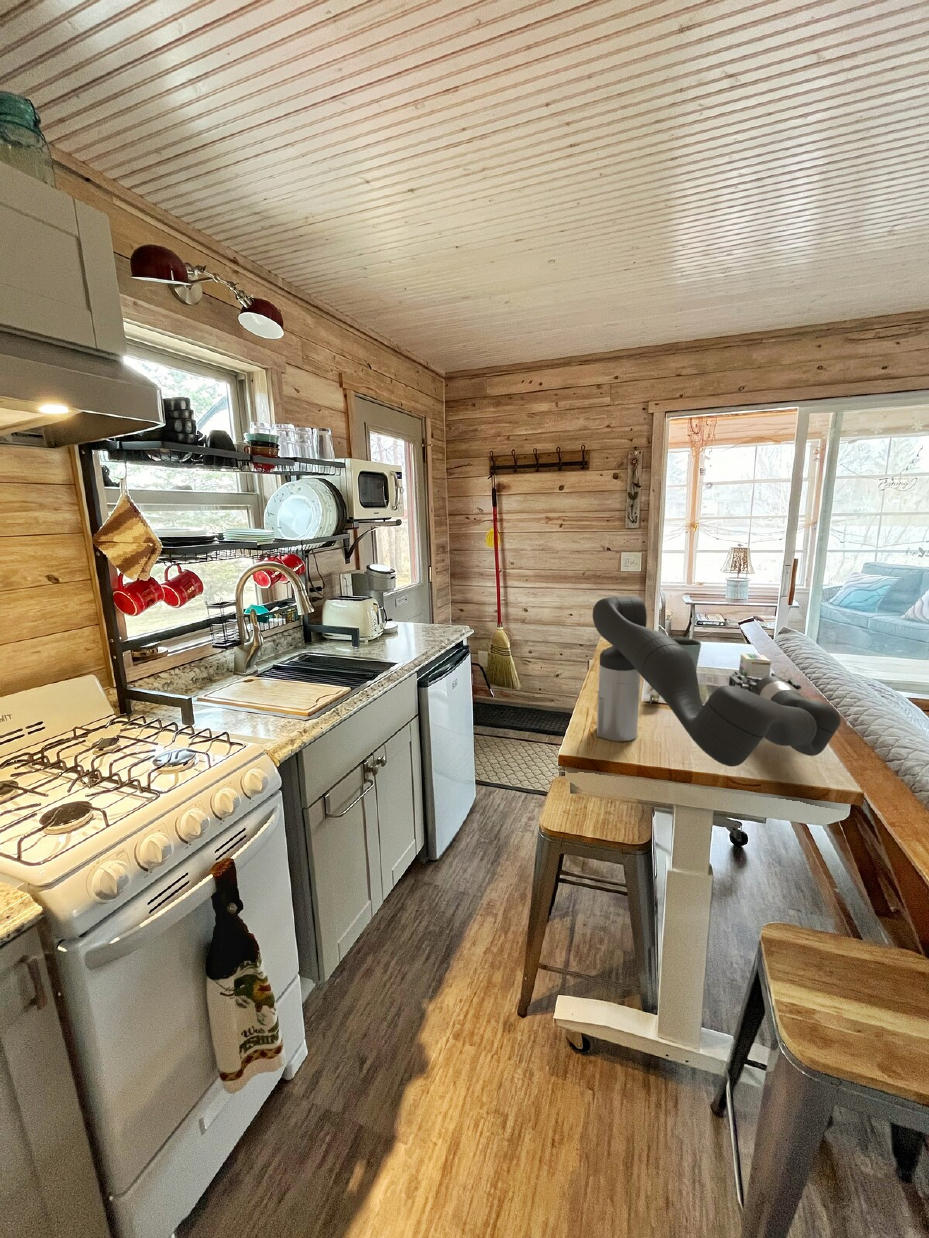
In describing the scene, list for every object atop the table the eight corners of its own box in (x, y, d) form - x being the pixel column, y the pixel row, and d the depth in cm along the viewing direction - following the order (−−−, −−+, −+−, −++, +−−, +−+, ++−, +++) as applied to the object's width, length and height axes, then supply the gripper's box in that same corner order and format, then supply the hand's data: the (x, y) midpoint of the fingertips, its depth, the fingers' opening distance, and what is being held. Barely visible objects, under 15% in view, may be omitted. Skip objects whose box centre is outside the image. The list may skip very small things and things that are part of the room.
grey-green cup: (657, 678, 165) (659, 641, 162) (672, 671, 172) (675, 635, 169) (689, 685, 158) (692, 647, 155) (703, 678, 164) (706, 641, 162)
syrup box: (734, 705, 138) (739, 652, 135) (758, 707, 137) (764, 653, 134) (740, 714, 133) (746, 659, 130) (766, 715, 131) (772, 660, 128)
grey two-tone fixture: (679, 696, 150) (681, 675, 149) (675, 719, 134) (677, 695, 133) (636, 691, 155) (637, 670, 154) (627, 713, 139) (628, 689, 138)
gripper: (742, 711, 118) (722, 688, 133) (812, 716, 115) (783, 691, 131) (745, 679, 116) (724, 660, 132) (816, 683, 114) (786, 662, 129)
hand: (754, 675), depth 131 cm, fingers open, 8 cm apart
